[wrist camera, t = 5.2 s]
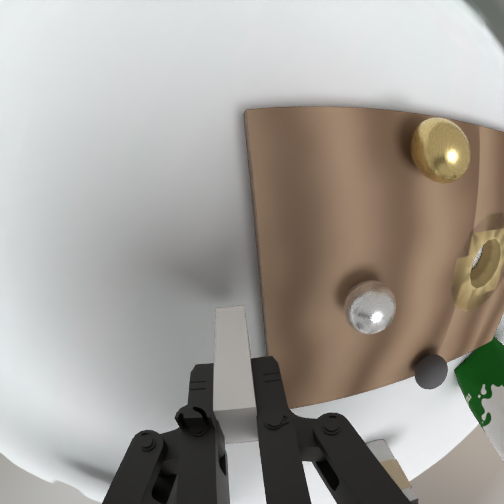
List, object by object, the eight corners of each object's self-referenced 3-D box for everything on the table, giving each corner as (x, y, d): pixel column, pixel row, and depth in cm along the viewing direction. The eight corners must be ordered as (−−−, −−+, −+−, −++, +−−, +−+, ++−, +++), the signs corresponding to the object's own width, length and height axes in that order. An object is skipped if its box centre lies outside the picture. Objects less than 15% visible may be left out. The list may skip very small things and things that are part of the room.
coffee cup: (367, 435, 30) (400, 521, 16) (402, 435, 32) (434, 505, 18) (326, 464, 33) (348, 541, 19) (364, 462, 35) (387, 528, 21)
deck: (270, 390, 23) (273, 411, 21) (243, 113, 14) (246, 109, 12) (480, 328, 24) (491, 340, 22) (516, 138, 15) (534, 142, 13)
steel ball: (334, 318, 17) (352, 350, 14) (337, 274, 16) (358, 304, 13) (377, 309, 17) (399, 338, 14) (383, 267, 16) (410, 293, 13)
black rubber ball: (405, 376, 21) (419, 400, 18) (414, 352, 20) (431, 377, 17) (430, 367, 21) (446, 389, 18) (440, 343, 20) (458, 365, 17)
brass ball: (398, 176, 14) (437, 190, 11) (396, 114, 13) (437, 113, 9) (441, 176, 14) (481, 190, 11) (441, 120, 13) (482, 123, 9)
